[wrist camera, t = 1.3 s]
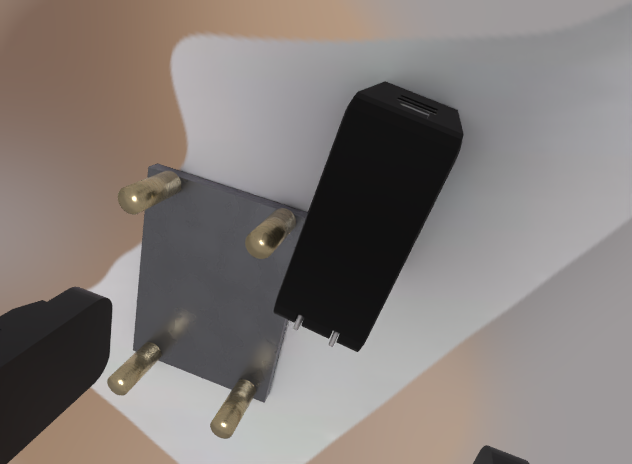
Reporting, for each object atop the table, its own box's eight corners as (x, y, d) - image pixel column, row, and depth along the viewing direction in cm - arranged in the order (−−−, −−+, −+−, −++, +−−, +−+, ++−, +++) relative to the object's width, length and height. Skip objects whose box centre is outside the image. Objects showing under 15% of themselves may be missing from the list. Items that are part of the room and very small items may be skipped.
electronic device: (459, 109, 24) (467, 139, 15) (385, 264, 28) (356, 361, 19) (385, 80, 24) (350, 92, 15) (323, 236, 28) (267, 319, 19)
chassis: (157, 160, 30) (106, 178, 25) (315, 211, 28) (290, 241, 23) (140, 344, 36) (96, 385, 31) (268, 395, 34) (241, 446, 30)
